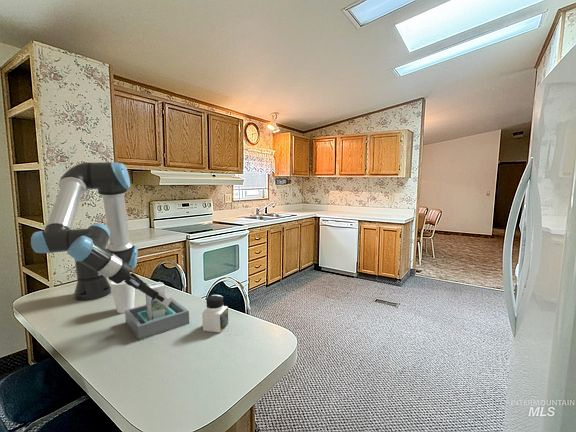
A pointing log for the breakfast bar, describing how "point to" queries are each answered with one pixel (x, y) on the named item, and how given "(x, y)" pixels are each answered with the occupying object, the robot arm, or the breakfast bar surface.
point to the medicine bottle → (215, 314)
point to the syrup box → (156, 302)
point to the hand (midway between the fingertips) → (165, 300)
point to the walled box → (156, 320)
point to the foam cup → (123, 296)
